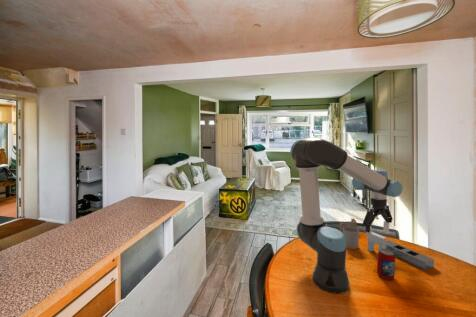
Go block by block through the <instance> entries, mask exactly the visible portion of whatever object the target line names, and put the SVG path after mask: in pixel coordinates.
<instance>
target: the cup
mask: <svg viewBox="0 0 476 317" xmlns="http://www.w3.org/2000/svg"><path fill="white" fill-rule="evenodd" d="M343 234H344V235H345V237H346V245H347V246H346V249H352V250H354V249H358V248H359V239H360V238H359V237H360V230H359V229H358V228H357V229H356V228H354V227H344V228H343Z"/></svg>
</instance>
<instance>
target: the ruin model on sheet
mask: <svg viewBox="0 0 476 317" xmlns="http://www.w3.org/2000/svg"><path fill="white" fill-rule="evenodd" d="M338 224H339V225H338V230H339V231H341V232H342V233H343V228H344V227H354V228H356V229H358V228H357V227H358V226H357V225H358V223H357V220H356V219H355V218H350V221H342V222H338Z"/></svg>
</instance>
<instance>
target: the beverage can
mask: <svg viewBox="0 0 476 317" xmlns="http://www.w3.org/2000/svg"><path fill="white" fill-rule="evenodd" d="M376 263H377V264H376V266H377V267H376V268H377V269H376V274H377V275H378V276H379V277H381V279H382V278H383V279H385V280H393V279H395V273H396V272H395V271H396V256H395V255H394V253H393V252H392V251H391V250H388V249H380V251H379V252H377V262H376Z"/></svg>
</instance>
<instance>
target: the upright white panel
mask: <svg viewBox="0 0 476 317" xmlns="http://www.w3.org/2000/svg"><path fill="white" fill-rule="evenodd" d="M386 241H387V237H386V236H383V235H382V234H379V233H377V232H374V231H372V235H371V239H370V238H368V237H367V247H366V249H367V251H369V252H373V251H375V245H377V246H378V252H379V251H380V249H386ZM378 252H377V253H378Z"/></svg>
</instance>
